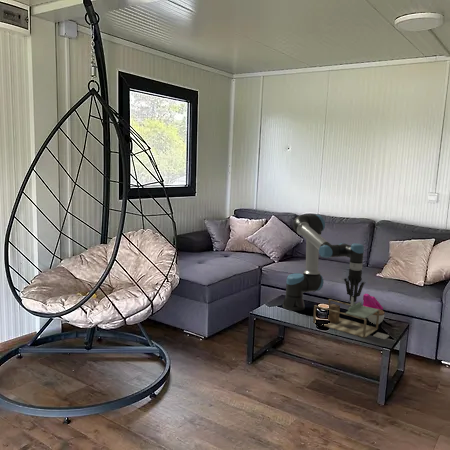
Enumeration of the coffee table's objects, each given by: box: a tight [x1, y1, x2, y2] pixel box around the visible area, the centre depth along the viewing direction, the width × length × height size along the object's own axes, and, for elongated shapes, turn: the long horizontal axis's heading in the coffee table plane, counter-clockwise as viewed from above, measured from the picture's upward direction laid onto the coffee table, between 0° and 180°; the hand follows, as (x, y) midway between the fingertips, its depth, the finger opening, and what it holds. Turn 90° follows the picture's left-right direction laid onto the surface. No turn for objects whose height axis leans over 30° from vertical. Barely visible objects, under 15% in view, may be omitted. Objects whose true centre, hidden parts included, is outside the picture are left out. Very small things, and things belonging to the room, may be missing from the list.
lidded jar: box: [366, 308, 385, 325], centre depth 288 cm, size 11×11×9 cm
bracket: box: [362, 293, 384, 310], centre depth 315 cm, size 12×10×10 cm
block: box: [328, 303, 341, 323], centre depth 285 cm, size 5×5×10 cm
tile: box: [373, 331, 390, 340], centre depth 266 cm, size 7×7×1 cm
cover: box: [345, 301, 378, 319], centre depth 272 cm, size 12×20×3 cm, turn 139°
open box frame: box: [312, 298, 379, 339], centre depth 280 cm, size 34×20×11 cm, turn 49°
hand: (352, 306), depth 276 cm, fingers closed
